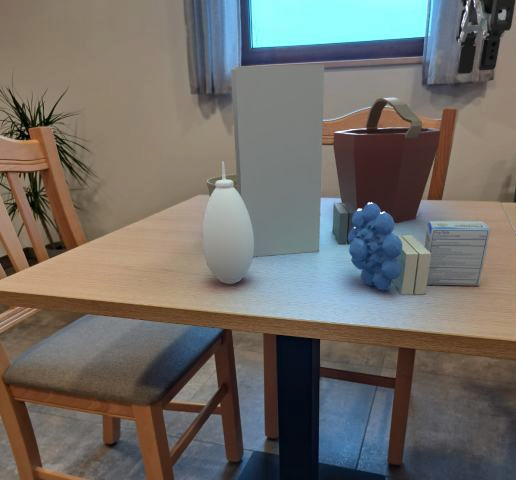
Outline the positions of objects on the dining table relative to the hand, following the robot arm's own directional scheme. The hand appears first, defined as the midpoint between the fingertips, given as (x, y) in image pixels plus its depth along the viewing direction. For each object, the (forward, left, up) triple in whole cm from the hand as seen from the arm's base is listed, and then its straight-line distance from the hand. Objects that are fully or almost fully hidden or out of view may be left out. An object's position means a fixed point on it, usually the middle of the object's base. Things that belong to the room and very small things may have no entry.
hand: (474, 71), depth 70 cm
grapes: (+17, +16, -28) cm, 37 cm away
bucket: (+6, -31, -28) cm, 42 cm away
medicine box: (+5, +15, -28) cm, 32 cm away
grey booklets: (+17, -12, -28) cm, 35 cm away
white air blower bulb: (+38, +13, -28) cm, 49 cm away
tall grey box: (+30, -4, -28) cm, 41 cm away
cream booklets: (+12, +15, -28) cm, 34 cm away
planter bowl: (+37, -21, -28) cm, 51 cm away
